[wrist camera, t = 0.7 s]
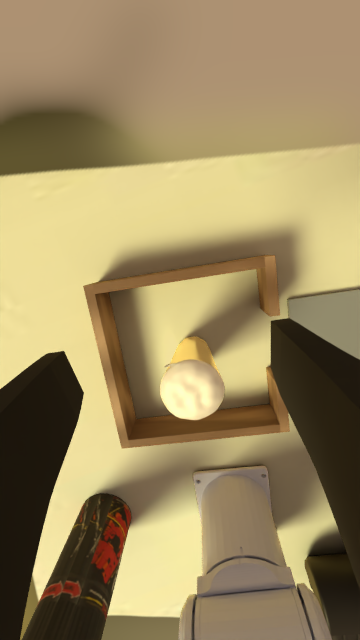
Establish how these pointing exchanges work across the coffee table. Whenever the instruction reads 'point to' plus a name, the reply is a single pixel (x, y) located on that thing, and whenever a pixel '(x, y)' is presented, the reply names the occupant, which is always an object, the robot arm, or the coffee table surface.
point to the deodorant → (83, 574)
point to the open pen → (170, 426)
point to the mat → (331, 318)
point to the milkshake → (192, 381)
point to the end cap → (336, 594)
